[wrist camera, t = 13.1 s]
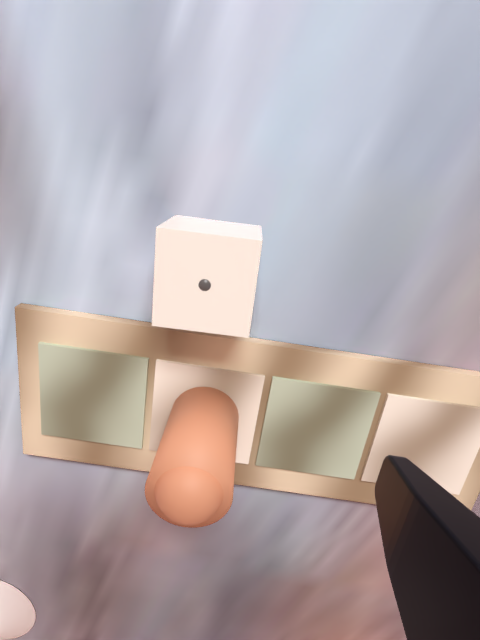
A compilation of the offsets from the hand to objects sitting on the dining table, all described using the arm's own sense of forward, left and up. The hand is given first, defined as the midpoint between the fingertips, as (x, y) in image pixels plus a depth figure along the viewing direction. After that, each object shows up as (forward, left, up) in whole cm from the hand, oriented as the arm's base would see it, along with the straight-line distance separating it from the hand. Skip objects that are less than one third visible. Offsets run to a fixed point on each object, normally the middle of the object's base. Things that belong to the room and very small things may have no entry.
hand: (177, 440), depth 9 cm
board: (-3, +7, -12) cm, 14 cm away
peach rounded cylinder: (0, +7, -11) cm, 13 cm away
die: (0, -1, -12) cm, 12 cm away
